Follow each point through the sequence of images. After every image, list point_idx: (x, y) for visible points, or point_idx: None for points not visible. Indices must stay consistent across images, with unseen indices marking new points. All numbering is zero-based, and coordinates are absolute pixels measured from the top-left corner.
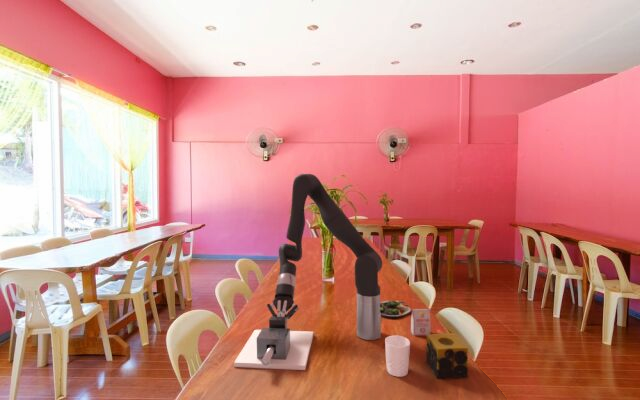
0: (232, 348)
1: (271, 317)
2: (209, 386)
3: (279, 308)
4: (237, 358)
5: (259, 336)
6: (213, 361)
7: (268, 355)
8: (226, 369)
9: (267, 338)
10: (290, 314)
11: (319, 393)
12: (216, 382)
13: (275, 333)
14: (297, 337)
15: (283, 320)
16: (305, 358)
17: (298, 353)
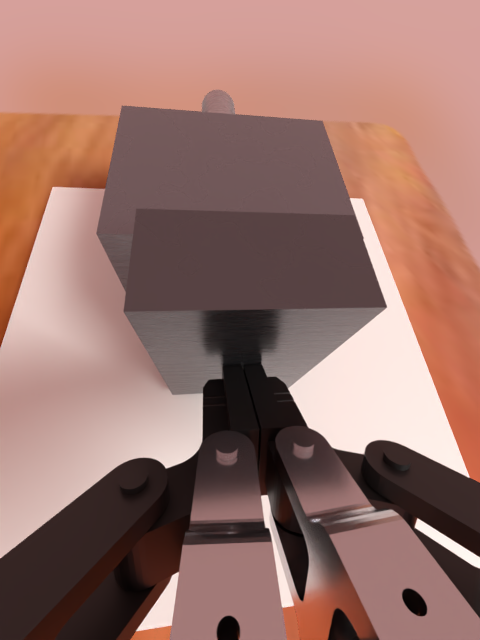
0: (458, 332)
1: (361, 275)
2: (361, 142)
3: (394, 603)
4: (367, 220)
5: (316, 136)
6: (450, 237)
7: (211, 105)
8: (370, 201)
9: (252, 117)
10: (62, 517)
11: (20, 115)
12: (355, 153)
13: (217, 165)
14: (94, 477)
15: (161, 213)
16: (46, 232)
17: (85, 269)
